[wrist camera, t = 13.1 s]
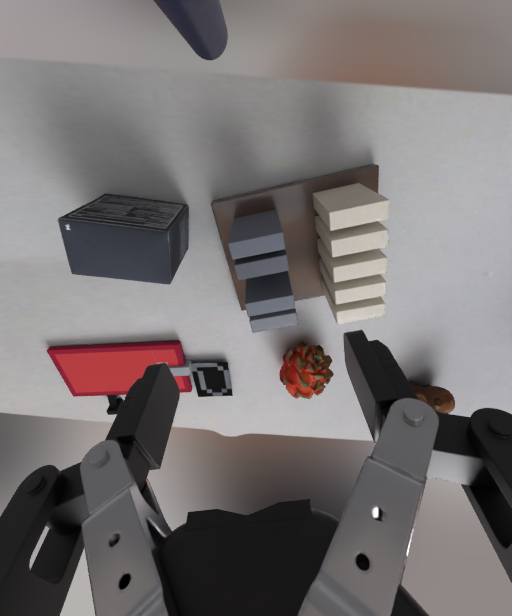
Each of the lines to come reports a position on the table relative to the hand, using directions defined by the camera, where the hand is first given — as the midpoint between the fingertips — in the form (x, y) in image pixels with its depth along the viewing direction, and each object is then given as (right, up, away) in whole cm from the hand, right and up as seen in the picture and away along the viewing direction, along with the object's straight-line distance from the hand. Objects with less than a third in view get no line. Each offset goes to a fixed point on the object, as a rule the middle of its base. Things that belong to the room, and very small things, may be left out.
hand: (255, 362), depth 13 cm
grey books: (+1, +9, +26) cm, 27 cm away
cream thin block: (+11, +11, +25) cm, 29 cm away
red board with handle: (-20, -10, +40) cm, 45 cm away
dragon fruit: (+8, -6, +38) cm, 39 cm away
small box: (-14, +14, +25) cm, 32 cm away
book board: (+6, +11, +26) cm, 29 cm away
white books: (+11, +11, +25) cm, 29 cm away
